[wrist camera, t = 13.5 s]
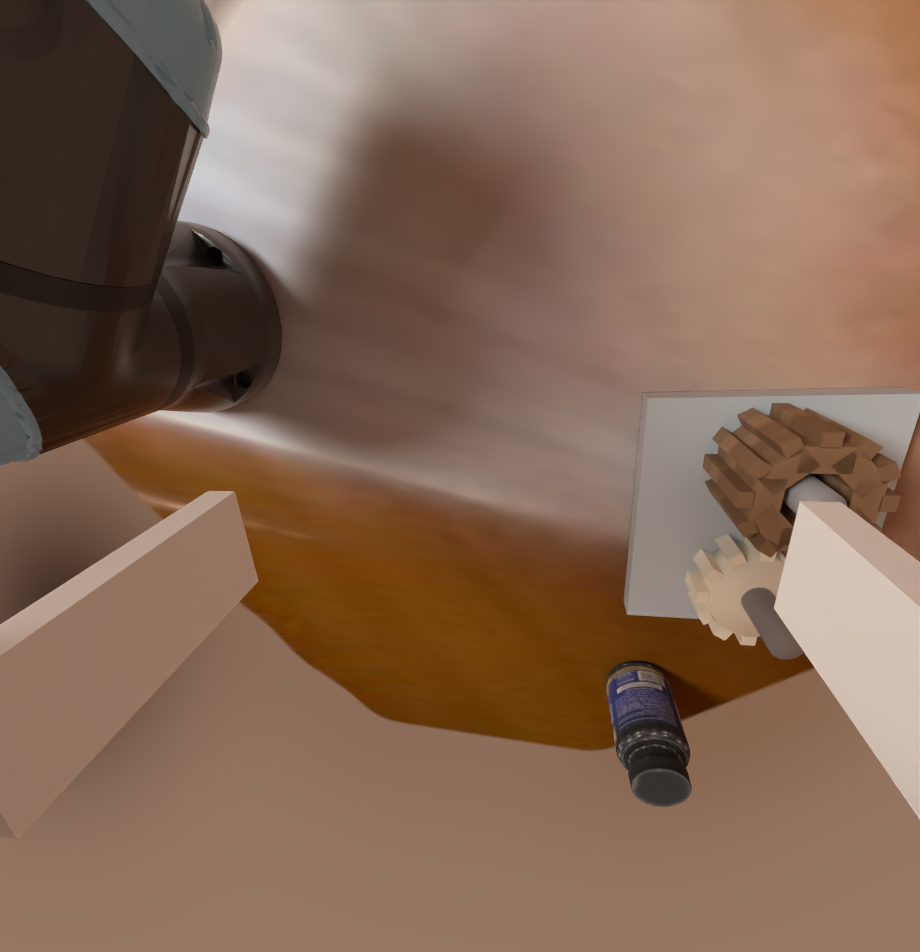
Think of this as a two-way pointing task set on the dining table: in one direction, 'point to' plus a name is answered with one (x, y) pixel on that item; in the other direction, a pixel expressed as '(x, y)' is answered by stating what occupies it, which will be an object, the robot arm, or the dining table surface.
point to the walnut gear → (794, 471)
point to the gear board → (707, 525)
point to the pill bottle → (649, 734)
